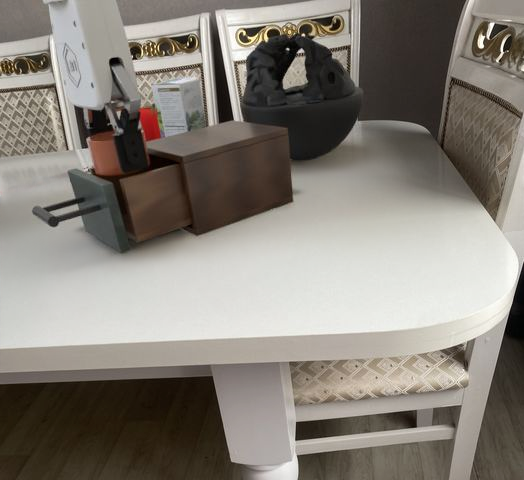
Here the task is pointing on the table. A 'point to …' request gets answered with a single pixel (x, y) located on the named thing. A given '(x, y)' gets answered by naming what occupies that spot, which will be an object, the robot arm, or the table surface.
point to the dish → (108, 154)
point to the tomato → (150, 123)
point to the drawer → (126, 203)
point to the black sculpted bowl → (301, 95)
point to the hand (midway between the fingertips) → (121, 163)
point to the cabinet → (230, 171)
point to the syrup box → (178, 105)
